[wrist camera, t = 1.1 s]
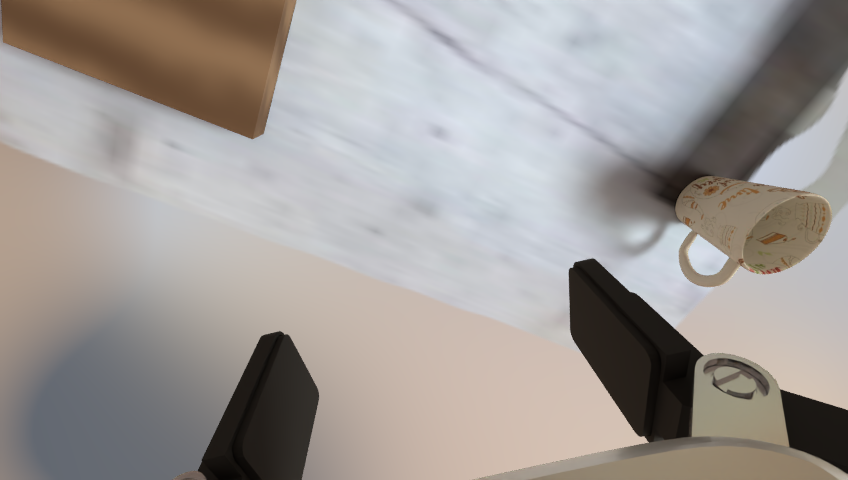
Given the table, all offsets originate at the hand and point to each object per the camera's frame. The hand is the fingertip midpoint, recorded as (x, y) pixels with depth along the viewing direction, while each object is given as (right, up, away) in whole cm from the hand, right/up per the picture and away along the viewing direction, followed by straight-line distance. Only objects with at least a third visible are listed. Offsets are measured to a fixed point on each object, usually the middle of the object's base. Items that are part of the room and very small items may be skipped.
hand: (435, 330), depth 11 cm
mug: (+32, +6, +31) cm, 45 cm away
